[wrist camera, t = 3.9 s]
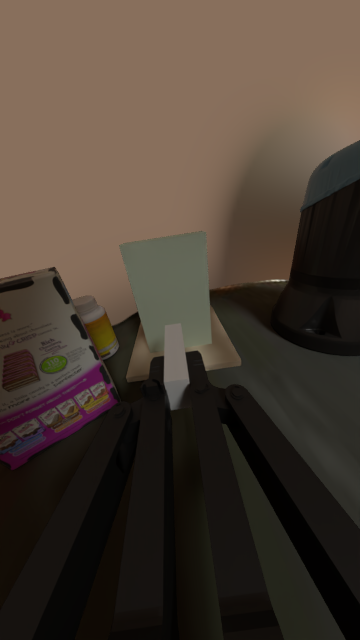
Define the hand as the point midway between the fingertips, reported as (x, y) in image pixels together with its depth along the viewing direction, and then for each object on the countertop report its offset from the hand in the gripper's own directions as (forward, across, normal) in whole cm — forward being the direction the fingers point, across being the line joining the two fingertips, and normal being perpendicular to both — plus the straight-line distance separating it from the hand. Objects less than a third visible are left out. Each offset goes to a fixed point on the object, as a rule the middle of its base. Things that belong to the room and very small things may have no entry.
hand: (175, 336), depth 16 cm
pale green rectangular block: (+10, 0, -8) cm, 12 cm away
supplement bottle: (+12, -14, -9) cm, 20 cm away
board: (+13, 0, -9) cm, 15 cm away
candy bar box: (0, -14, -9) cm, 17 cm away
